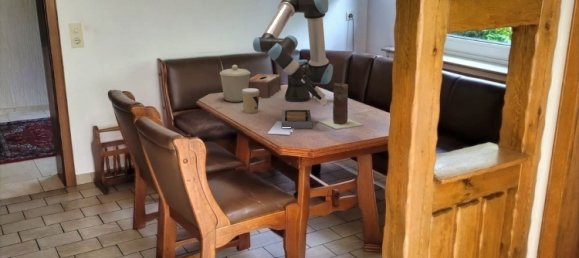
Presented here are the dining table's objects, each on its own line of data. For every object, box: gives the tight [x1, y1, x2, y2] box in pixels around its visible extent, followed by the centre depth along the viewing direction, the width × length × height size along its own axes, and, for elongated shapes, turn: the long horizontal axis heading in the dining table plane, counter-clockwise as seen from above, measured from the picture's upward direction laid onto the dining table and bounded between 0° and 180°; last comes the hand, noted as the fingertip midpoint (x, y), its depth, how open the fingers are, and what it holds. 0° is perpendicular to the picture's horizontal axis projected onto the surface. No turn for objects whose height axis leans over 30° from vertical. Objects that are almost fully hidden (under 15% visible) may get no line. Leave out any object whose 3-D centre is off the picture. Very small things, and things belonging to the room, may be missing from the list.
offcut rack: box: [281, 109, 312, 130], centre depth 284 cm, size 24×14×4 cm, turn 0°
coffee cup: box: [242, 88, 260, 114], centre depth 304 cm, size 9×9×12 cm
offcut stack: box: [287, 112, 306, 121], centre depth 278 cm, size 4×9×6 cm, turn 90°
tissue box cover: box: [248, 73, 282, 99], centre depth 349 cm, size 26×14×10 cm, turn 163°
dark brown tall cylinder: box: [332, 82, 349, 124], centre depth 279 cm, size 8×7×20 cm
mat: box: [318, 118, 364, 131], centre depth 282 cm, size 16×16×1 cm
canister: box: [219, 64, 251, 103], centre depth 329 cm, size 18×18×21 cm
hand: (324, 100), depth 278 cm, fingers open, 13 cm apart
